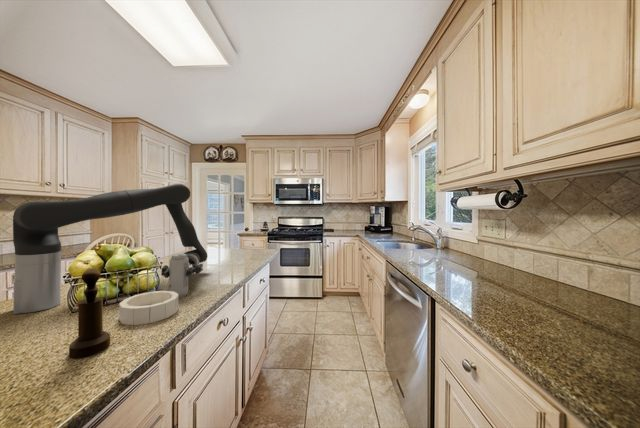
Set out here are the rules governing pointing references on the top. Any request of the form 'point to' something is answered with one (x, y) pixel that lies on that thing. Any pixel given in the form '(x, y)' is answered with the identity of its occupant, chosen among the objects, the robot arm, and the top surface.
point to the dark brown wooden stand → (90, 321)
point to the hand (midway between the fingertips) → (177, 274)
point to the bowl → (148, 307)
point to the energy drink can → (178, 274)
